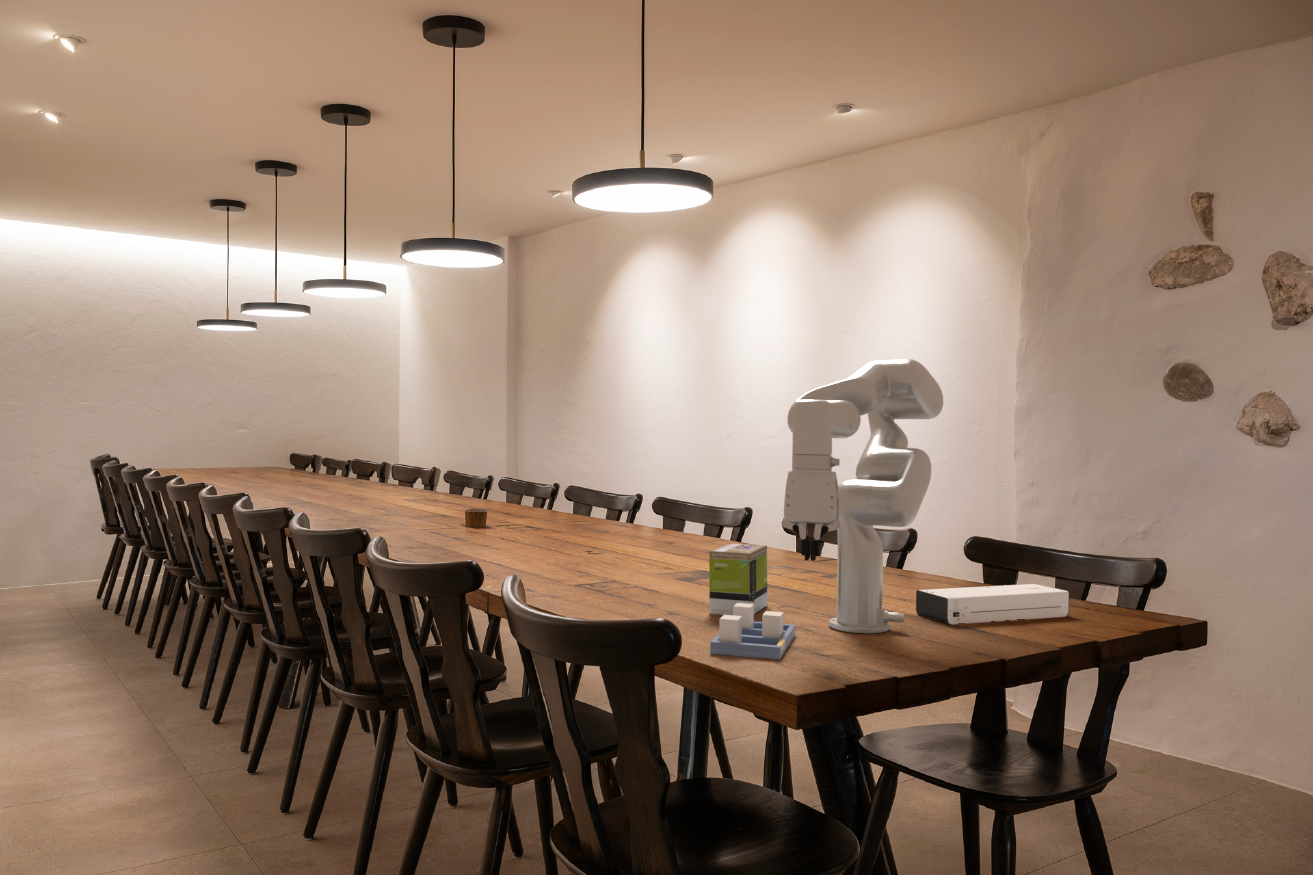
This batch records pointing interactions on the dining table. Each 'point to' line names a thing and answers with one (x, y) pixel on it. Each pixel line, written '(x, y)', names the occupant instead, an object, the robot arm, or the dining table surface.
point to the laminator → (992, 603)
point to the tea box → (737, 577)
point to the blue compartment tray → (755, 643)
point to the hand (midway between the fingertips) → (810, 559)
